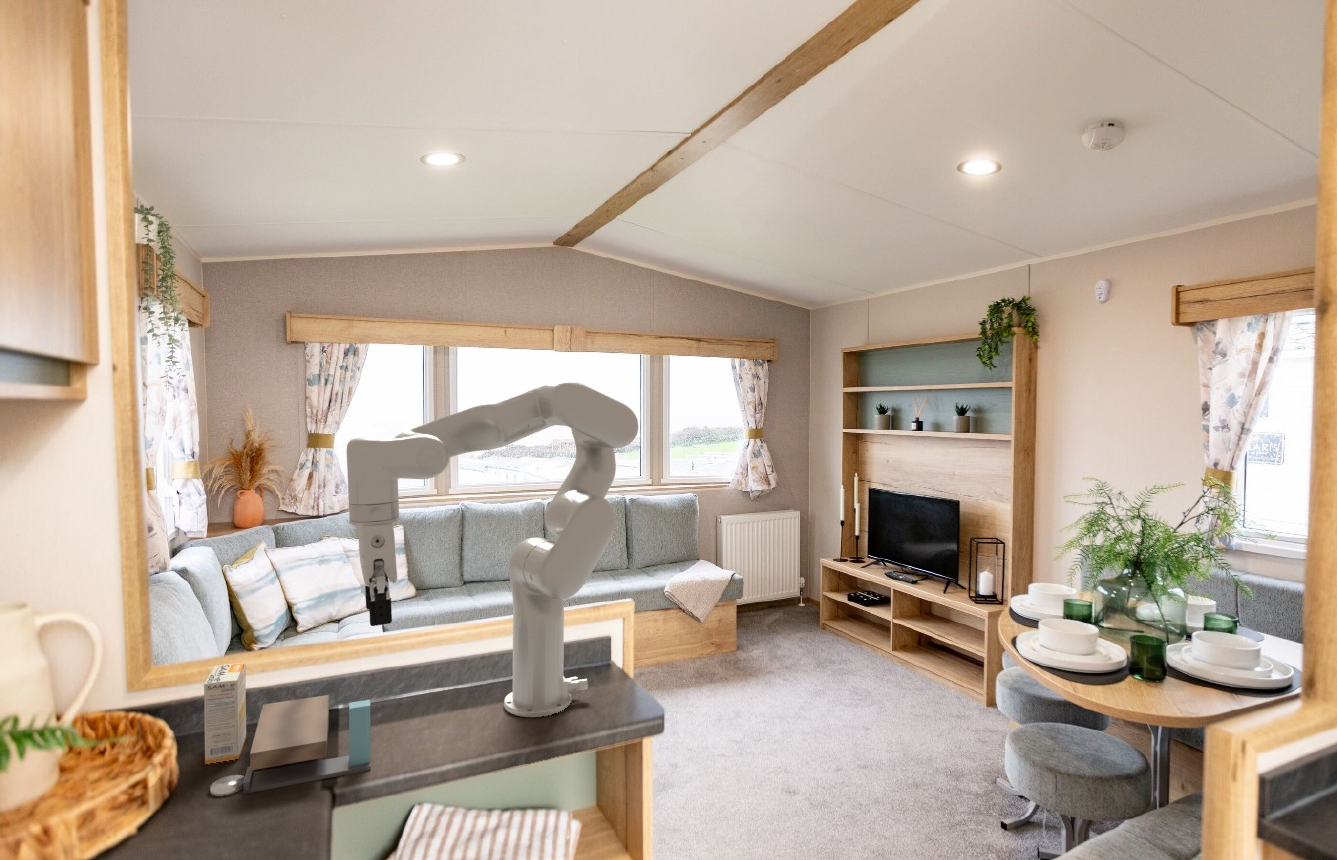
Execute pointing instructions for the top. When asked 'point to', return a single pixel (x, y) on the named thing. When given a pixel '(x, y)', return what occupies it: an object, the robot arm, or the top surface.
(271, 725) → the low block
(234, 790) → the steel token
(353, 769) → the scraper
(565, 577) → the robot arm
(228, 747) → the supplement box
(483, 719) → the top surface
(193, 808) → the top surface
